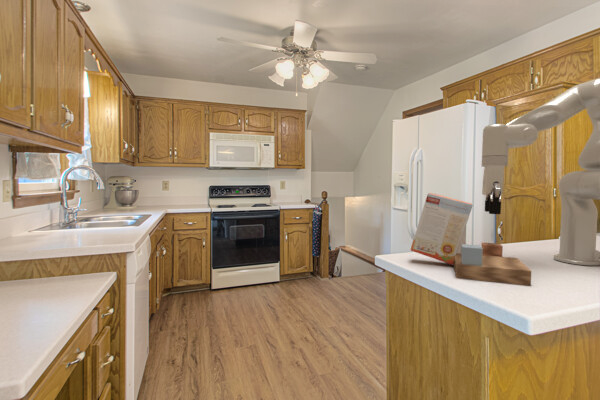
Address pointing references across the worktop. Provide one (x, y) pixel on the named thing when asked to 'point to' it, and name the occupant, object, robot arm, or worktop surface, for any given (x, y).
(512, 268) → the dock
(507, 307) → the worktop surface
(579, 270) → the worktop surface
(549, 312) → the worktop surface
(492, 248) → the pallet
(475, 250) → the grey-blue cube
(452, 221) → the cracker box
